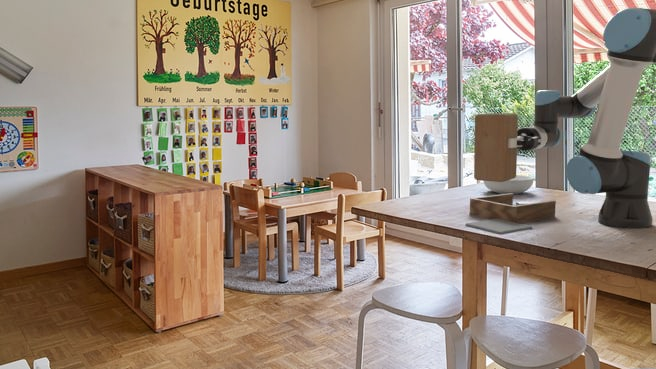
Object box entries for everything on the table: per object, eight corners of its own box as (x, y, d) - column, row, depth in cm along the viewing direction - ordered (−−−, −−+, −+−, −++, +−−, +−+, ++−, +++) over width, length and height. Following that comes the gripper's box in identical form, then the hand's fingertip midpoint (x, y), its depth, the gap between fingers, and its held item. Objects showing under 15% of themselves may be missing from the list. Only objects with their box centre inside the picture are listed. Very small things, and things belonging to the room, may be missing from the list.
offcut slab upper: (538, 208, 192) (539, 202, 192) (542, 210, 188) (542, 203, 188) (515, 208, 192) (516, 201, 192) (518, 209, 189) (519, 203, 188)
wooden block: (472, 180, 167) (473, 114, 164) (486, 176, 175) (487, 113, 172) (504, 182, 161) (506, 114, 158) (517, 178, 169) (519, 113, 166)
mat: (532, 228, 168) (532, 226, 168) (500, 233, 161) (500, 231, 161) (496, 220, 180) (497, 218, 180) (465, 225, 173) (465, 223, 173)
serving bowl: (543, 193, 234) (543, 177, 233) (513, 198, 222) (514, 181, 221) (501, 187, 251) (502, 172, 250) (472, 192, 239) (472, 176, 238)
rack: (554, 216, 185) (555, 200, 184) (513, 223, 174) (514, 206, 174) (509, 208, 201) (510, 193, 200) (469, 213, 191) (470, 198, 190)
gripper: (564, 152, 171) (527, 157, 157) (497, 147, 189) (459, 151, 174) (565, 128, 170) (528, 131, 156) (498, 125, 187) (460, 128, 173)
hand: (491, 142), depth 165 cm, fingers closed on wooden block, 11 cm apart
